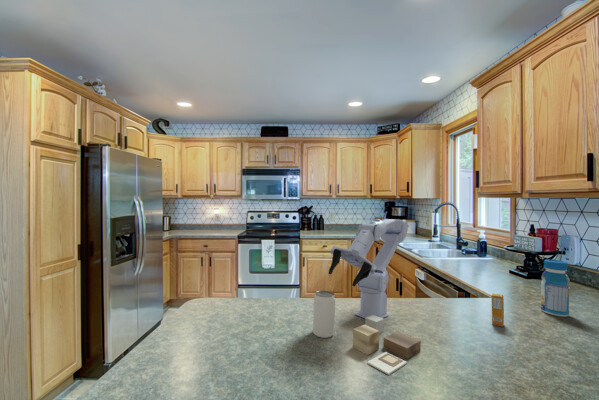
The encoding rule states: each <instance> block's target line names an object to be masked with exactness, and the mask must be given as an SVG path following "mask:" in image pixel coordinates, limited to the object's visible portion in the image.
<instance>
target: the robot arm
mask: <svg viewBox="0 0 599 400" xmlns="http://www.w3.org/2000/svg"><path fill="white" fill-rule="evenodd" d="M408 225H409V224H408V222H407V220H406V219H393V218H391V219H389V218H382V219H380V218H375V219H374V220H373V221H369V223H362V224H359V225H358V227H357V232H356V235H355V238H354V239H353V241H352V243H351V245H349V248H343V247H340V246H335V245H333V246H332V247H331V249H330V254H331V255H332V256H331V257H332V259H331V265H330V267H329V269H328V274H329V275H332V274H333V272H334V270H335V268H336V267H337V266H338V265H339V264H340V262H341V259H343V260H344V261H345V262H347V264H349V265H350V266H353V267H356V268H360V269H359V270H358V271H357V272H356V275H355V278H354V280H353V281H352V286H353V287H356V286H357V287H358V289H359V290H360V305H359V307H360V309H359V311H357V312H355V313H354V314H355V315H356V316H358V317H361V318H363V319H365V318H366V317H369V316H371V315H375V316H378V317H380V318H383V319H384V318H386V317H389V316H390V314H389V313H387V312H388V310H387V308H388V296H387V294H386V290H387V287H388V283H389V279H390V277H389V274H388V273H389V272H388V270H387V267H388V265H389V263H390V262H391V260H392V258H393V256H394V254H395V252H396V251H397V248H398V246H399V244H401V243H402V242H404V240H405V239H406V236H407V234H408V229H409V226H408ZM380 239H381V241H383V242H384V243H383V244H382V246H381V248H380V249H379V251H378V252H377V254H376V256H375V258H374V259H373V261H372V262H371V261H370V260H369V259H367V258H366V257H367V255H368V253H369V251H370V249H371V247H372V246H373V244H374V242H375V241H376V242H379V241H380ZM355 315H354V316H355Z"/></svg>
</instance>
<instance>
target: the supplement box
mask: <svg viewBox="0 0 599 400" xmlns="http://www.w3.org/2000/svg"><path fill="white" fill-rule="evenodd" d="M504 303H505V302H504V295H503V294H499V293H492V294H491V325H493V326H497V327H502V328H503V327H504V326H505V309H504V308H505V307H504V306H505V305H504Z"/></svg>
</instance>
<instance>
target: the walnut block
mask: <svg viewBox="0 0 599 400" xmlns="http://www.w3.org/2000/svg"><path fill="white" fill-rule="evenodd" d="M382 344H383V348H384V349H386V350H388V351H390V352H391V353H393V354H397V355H399V356H401V357H403V358H405V359H409V358H410V357H412V356H414V355H415V354H417V353H419V352H420V351H421V339H417V338H415V337H413V336H410V335H408V334H406V333H403V332H401V331H398V330H396V331H395V332H393V333H391V334H389V335H387V336H385V337H383V343H382Z"/></svg>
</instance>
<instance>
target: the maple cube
mask: <svg viewBox="0 0 599 400" xmlns="http://www.w3.org/2000/svg"><path fill="white" fill-rule="evenodd" d="M352 348H354V349H355V350H357V351H359V352H362V353H363V354H365V355H367V356H368V355H370V354H372V353H374V352H376V351H378V350H379V349H380V333H379V331H378V330H376V329H374V328H371V327H369V326H367V325H365V324H362V325H359V326H357V327H354V328H353V329H352Z"/></svg>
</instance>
